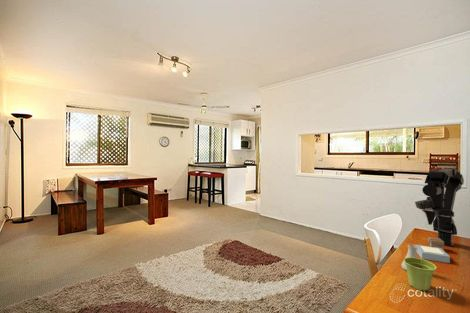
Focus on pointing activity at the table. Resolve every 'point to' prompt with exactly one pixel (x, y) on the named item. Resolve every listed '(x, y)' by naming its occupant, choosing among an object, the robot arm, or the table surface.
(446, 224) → the robot arm
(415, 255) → the flask
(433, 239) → the walnut block
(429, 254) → the plinth
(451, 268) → the table surface
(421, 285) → the plant pot
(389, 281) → the table surface
